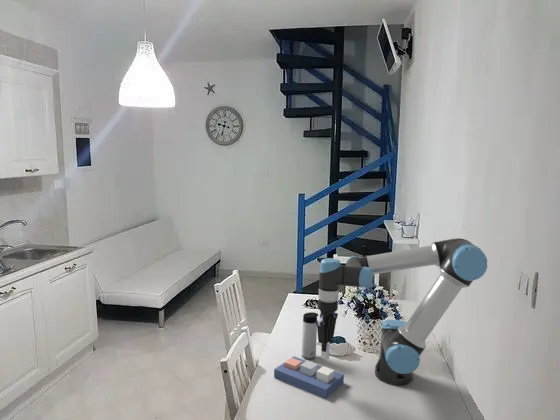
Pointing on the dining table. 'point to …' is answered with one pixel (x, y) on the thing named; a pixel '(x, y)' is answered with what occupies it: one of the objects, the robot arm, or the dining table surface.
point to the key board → (308, 380)
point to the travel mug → (309, 335)
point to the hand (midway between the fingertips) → (324, 358)
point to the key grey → (308, 368)
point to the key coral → (293, 364)
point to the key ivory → (325, 374)
